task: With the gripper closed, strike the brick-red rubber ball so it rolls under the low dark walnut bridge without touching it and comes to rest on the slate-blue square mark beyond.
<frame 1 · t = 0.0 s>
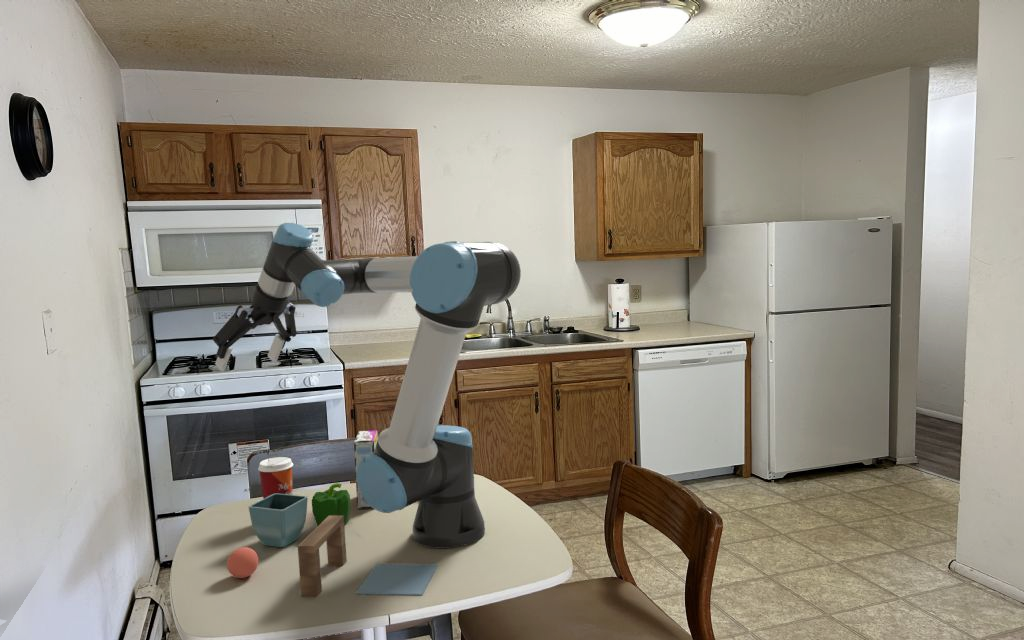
hand: (246, 363, 164), 36 cm above the table, tool tilted 35°, fingers open, 13 cm apart
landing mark: (398, 579, 130), on the table
bridge: (325, 577, 132), on the table
paper cup: (279, 521, 162), on the table
ball: (242, 562, 133), on the table
candy bar box: (369, 502, 173), on the table
flower pot: (281, 543, 150), on the table
bell pepper: (332, 528, 156), on the table
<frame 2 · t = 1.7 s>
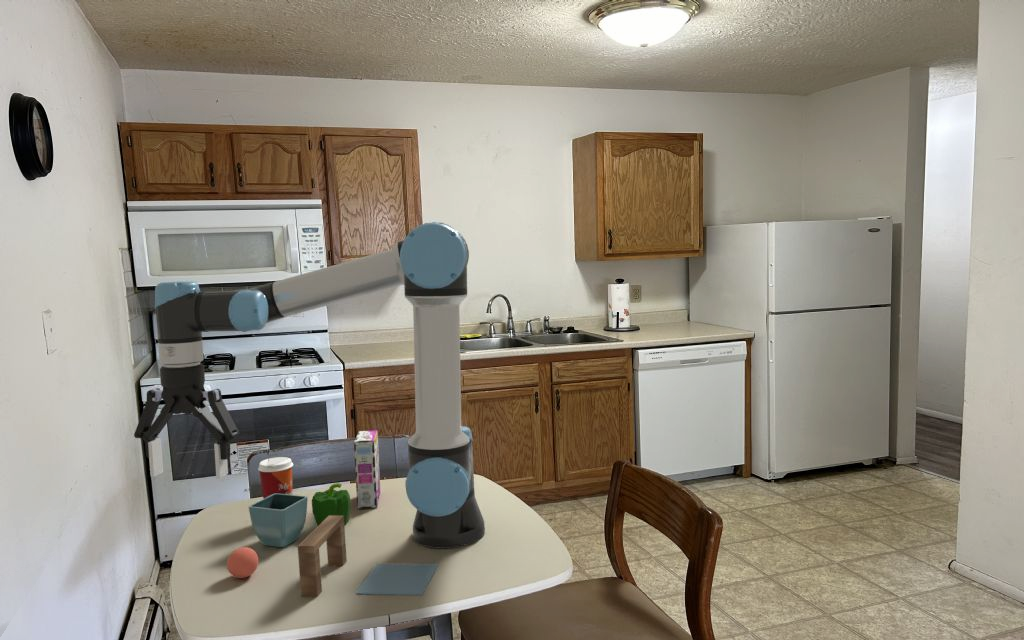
hand: (189, 475, 134), 19 cm above the table, tool pointing down, fingers open, 13 cm apart
nothing on the table moved.
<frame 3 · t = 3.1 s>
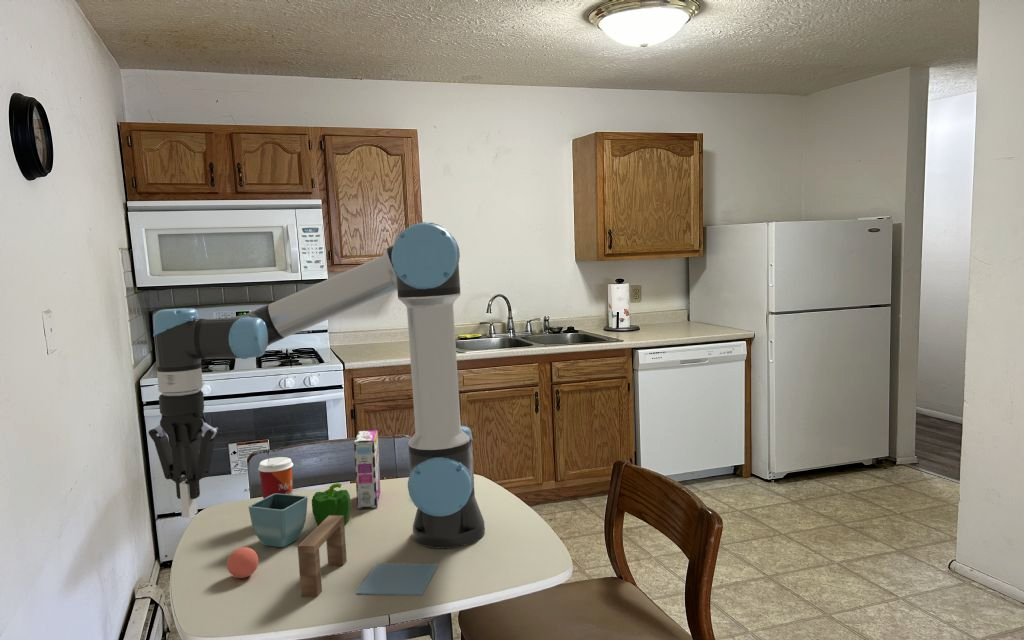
hand: (189, 514, 134), 12 cm above the table, tool pointing down, fingers closed
nothing on the table moved.
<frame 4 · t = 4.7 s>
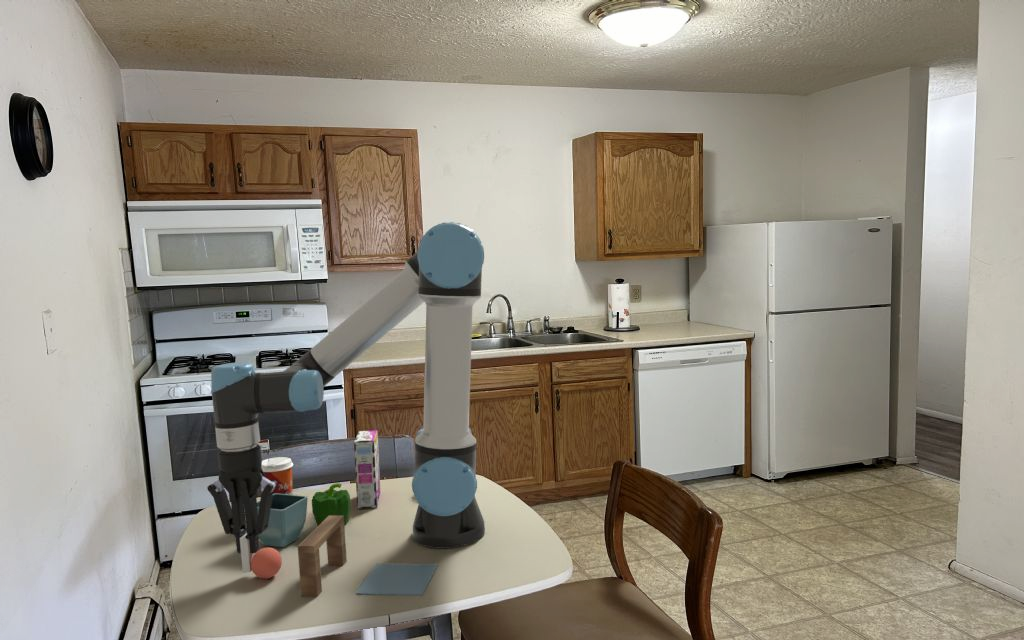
hand: (249, 568, 134), 1 cm above the table, tool pointing down, fingers closed
ball: (266, 562, 133), on the table
everything else where it was.
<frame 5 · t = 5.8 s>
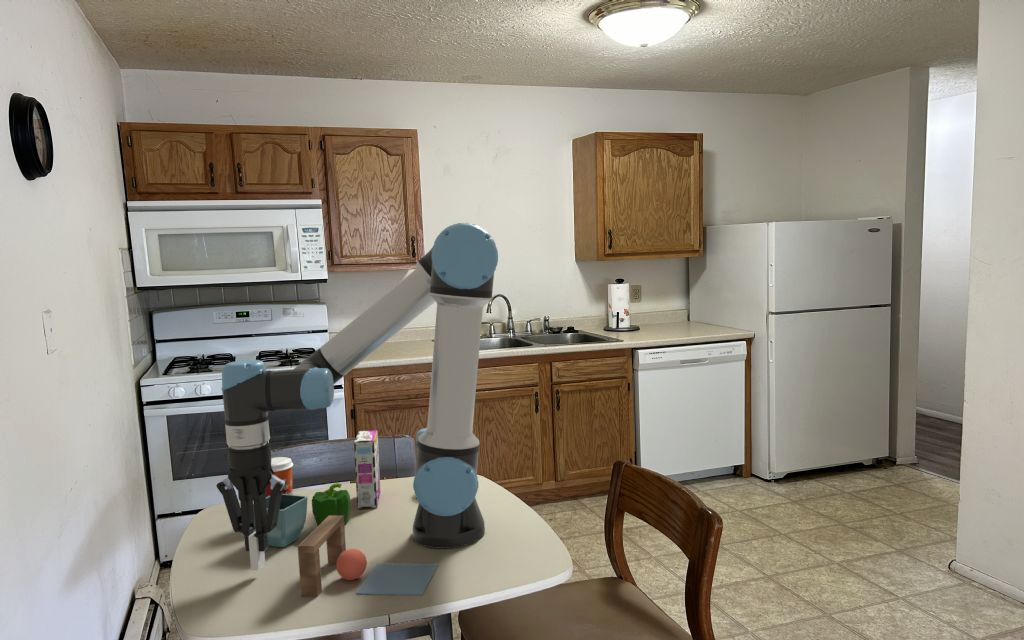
hand: (258, 567, 133), 2 cm above the table, tool pointing down, fingers closed
ball: (351, 564, 131), on the table
everything else where it was.
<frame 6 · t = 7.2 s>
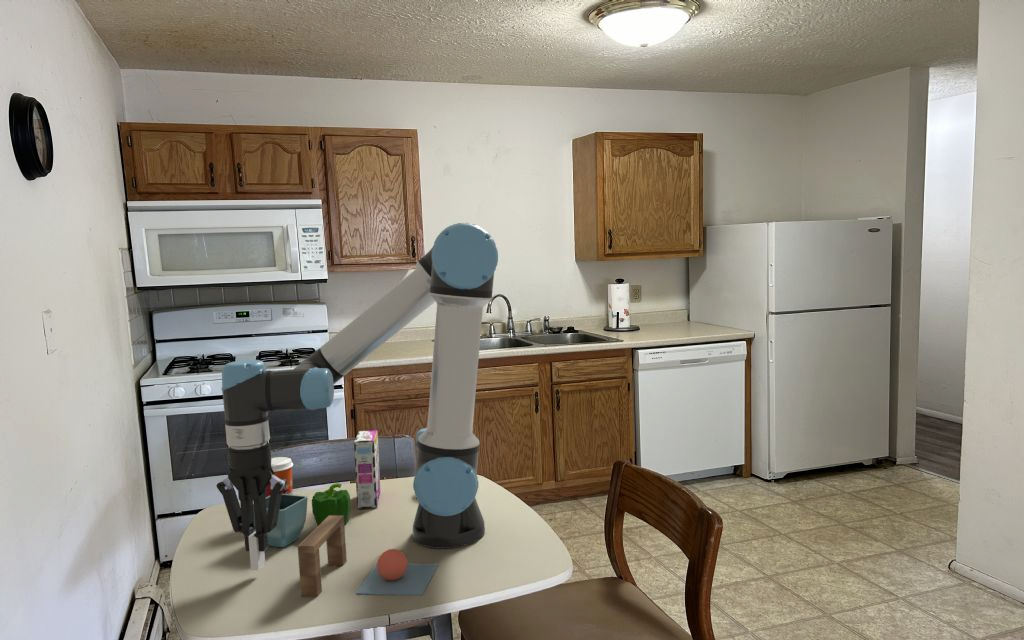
hand: (258, 567, 133), 2 cm above the table, tool pointing down, fingers closed
ball: (392, 564, 130), on the table
everything else where it was.
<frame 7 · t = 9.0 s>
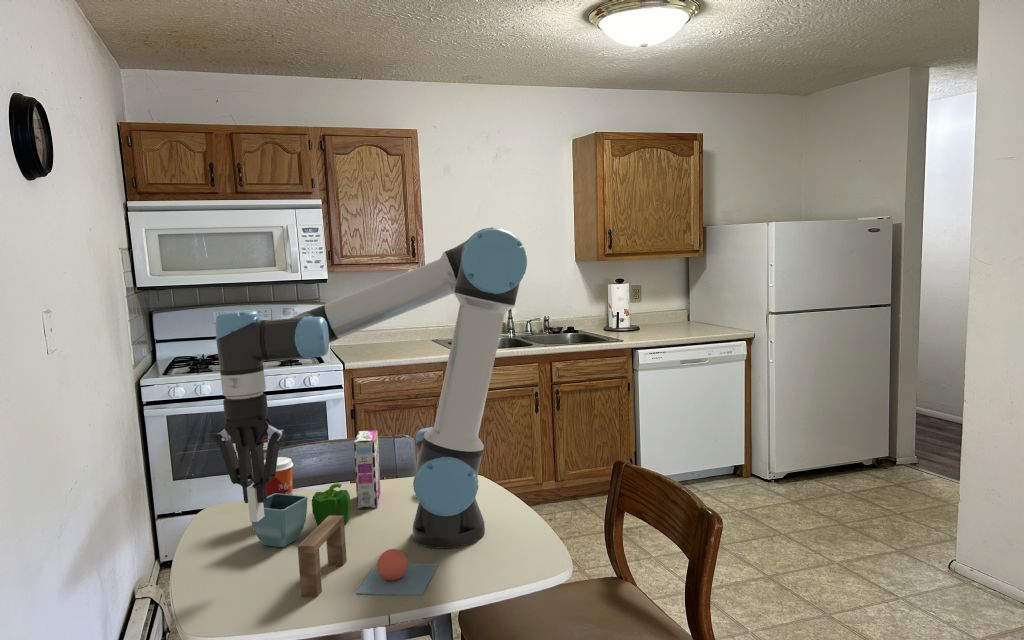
hand: (257, 518, 132), 11 cm above the table, tool pointing down, fingers closed
nothing on the table moved.
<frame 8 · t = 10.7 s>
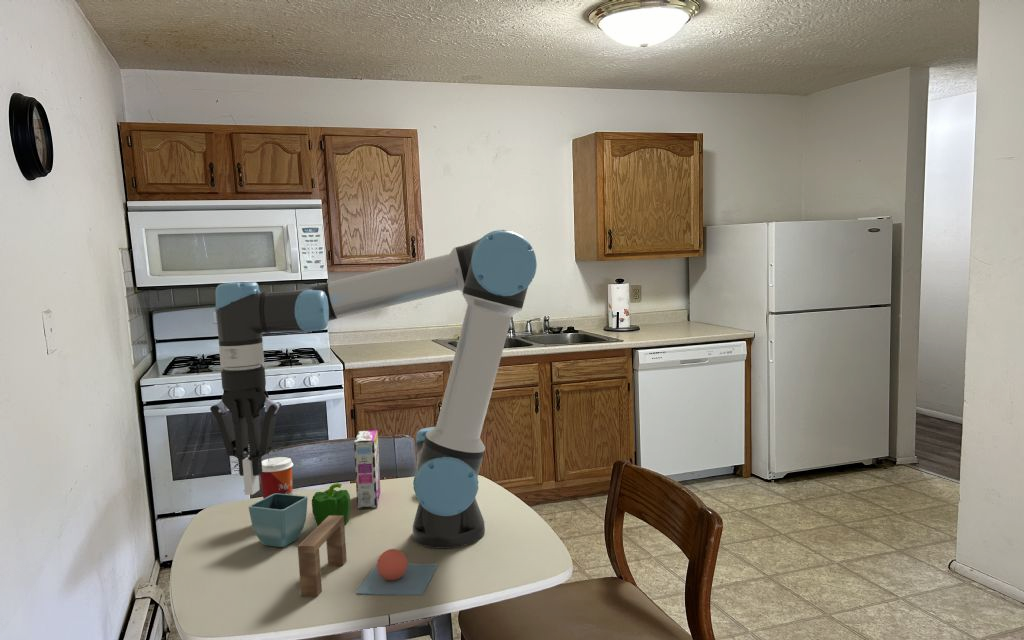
hand: (252, 492, 132), 16 cm above the table, tool pointing down, fingers closed
nothing on the table moved.
at the end: ball 1.0 cm from the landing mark (horizontally); ball never touched bridge; ball at rest at the end (0.0 cm/s) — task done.
